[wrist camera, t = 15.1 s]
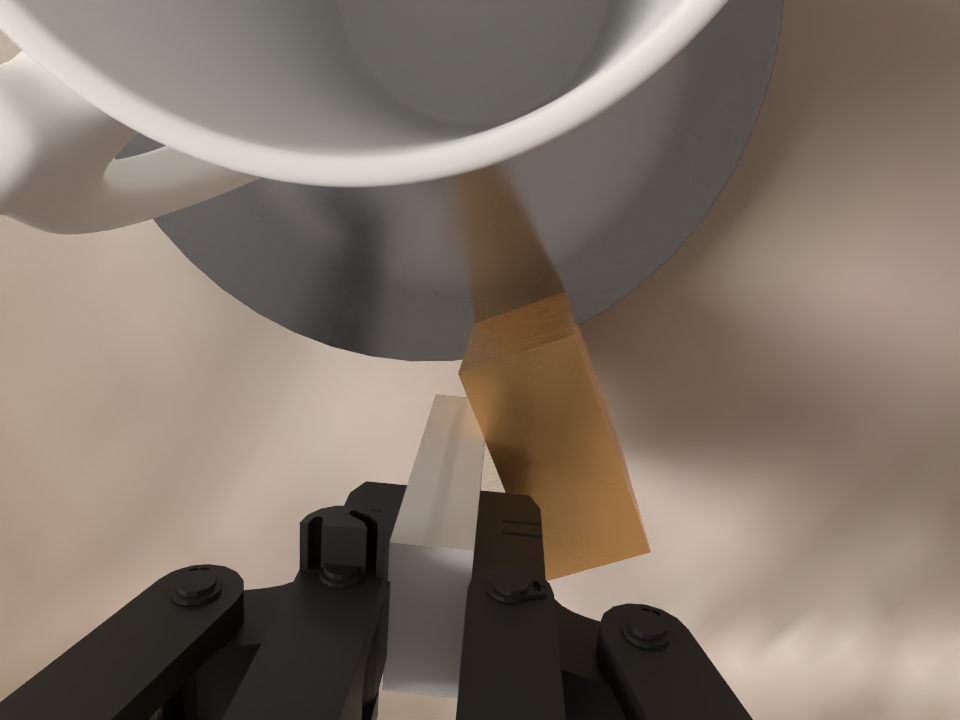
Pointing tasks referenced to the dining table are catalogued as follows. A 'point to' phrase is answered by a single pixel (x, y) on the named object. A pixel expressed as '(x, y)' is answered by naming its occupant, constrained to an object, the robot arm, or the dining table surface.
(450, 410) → the robot arm
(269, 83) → the mug
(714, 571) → the dining table surface
